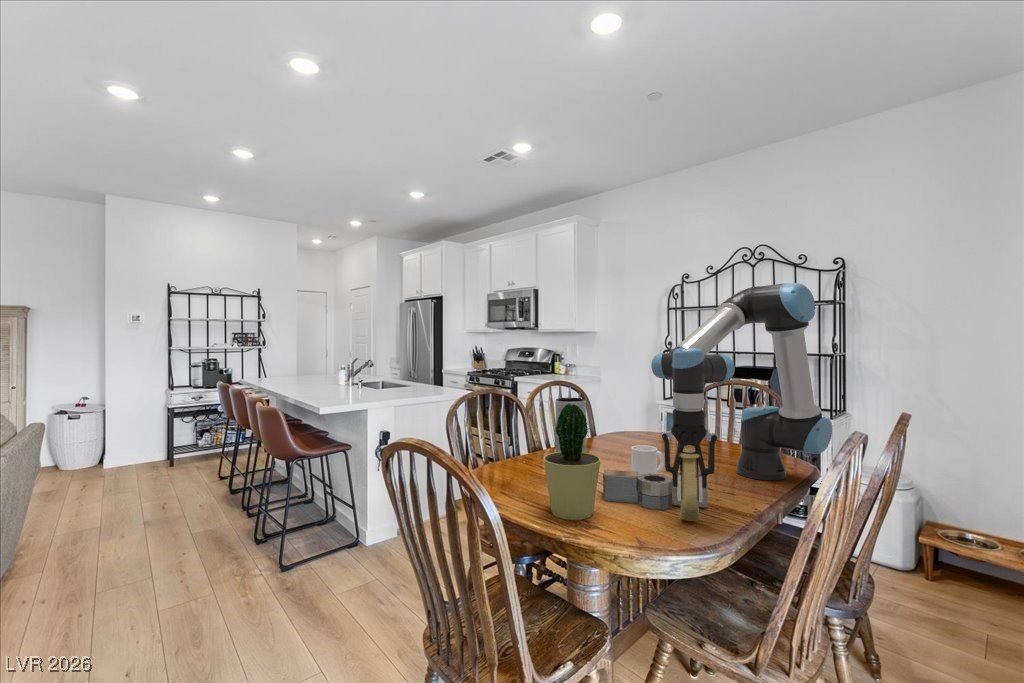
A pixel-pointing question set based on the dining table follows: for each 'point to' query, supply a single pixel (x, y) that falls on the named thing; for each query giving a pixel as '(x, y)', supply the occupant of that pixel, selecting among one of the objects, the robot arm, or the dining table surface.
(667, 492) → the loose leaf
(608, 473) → the block
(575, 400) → the vase
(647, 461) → the mug
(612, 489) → the hinge base
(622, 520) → the dining table surface
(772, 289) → the robot arm
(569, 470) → the potted cactus
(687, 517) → the hinge pin
